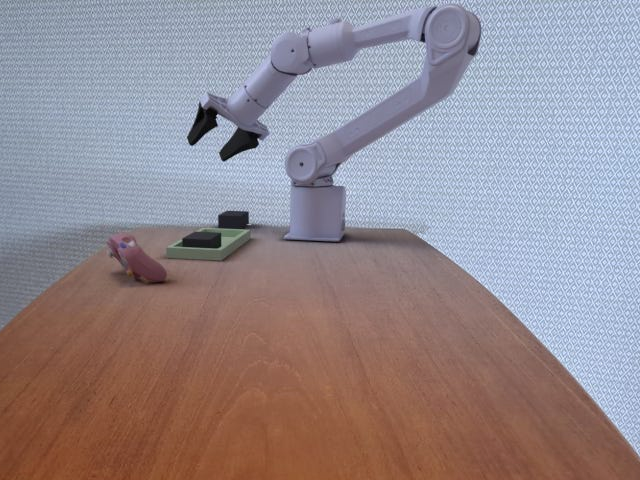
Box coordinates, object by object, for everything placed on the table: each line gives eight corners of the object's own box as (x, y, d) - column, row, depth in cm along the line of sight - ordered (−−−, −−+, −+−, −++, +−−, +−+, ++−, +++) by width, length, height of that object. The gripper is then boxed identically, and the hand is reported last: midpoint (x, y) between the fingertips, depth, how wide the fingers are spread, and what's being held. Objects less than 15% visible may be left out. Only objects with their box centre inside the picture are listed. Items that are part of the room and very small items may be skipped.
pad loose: (226, 222, 131) (226, 210, 131) (248, 223, 130) (248, 211, 130) (218, 228, 126) (217, 215, 125) (241, 229, 125) (240, 215, 124)
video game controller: (122, 280, 95) (95, 237, 91) (149, 263, 96) (124, 220, 92) (141, 297, 87) (113, 250, 83) (171, 278, 87) (144, 231, 84)
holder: (202, 236, 118) (202, 227, 117) (250, 239, 116) (250, 229, 115) (166, 257, 102) (166, 247, 101) (221, 260, 100) (221, 249, 99)
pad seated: (195, 246, 108) (194, 231, 107) (221, 247, 107) (221, 232, 106) (182, 254, 102) (181, 238, 101) (210, 255, 101) (210, 239, 100)
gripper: (278, 97, 121) (229, 149, 128) (218, 59, 110) (169, 117, 118) (290, 124, 117) (239, 176, 125) (229, 88, 107) (178, 146, 115)
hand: (205, 149), depth 121 cm, fingers open, 7 cm apart
